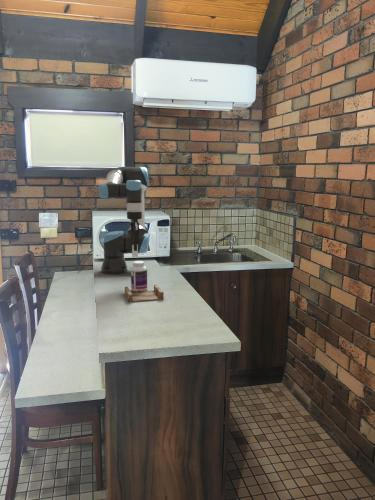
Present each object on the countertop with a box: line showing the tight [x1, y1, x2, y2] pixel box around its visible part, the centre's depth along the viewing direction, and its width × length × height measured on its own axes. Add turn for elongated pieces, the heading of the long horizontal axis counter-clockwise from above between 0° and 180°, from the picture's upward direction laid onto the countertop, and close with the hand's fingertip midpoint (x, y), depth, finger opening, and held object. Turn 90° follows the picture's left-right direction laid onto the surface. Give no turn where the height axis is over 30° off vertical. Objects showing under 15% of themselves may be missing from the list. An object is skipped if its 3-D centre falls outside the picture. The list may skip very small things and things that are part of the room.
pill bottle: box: [130, 260, 148, 292], centre depth 211 cm, size 8×8×14 cm
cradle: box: [124, 284, 165, 303], centre depth 202 cm, size 14×16×4 cm
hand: (135, 256), depth 219 cm, fingers closed
